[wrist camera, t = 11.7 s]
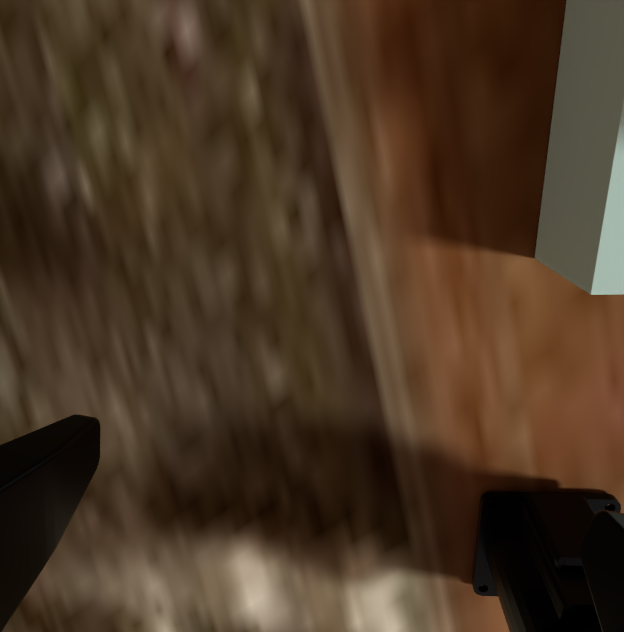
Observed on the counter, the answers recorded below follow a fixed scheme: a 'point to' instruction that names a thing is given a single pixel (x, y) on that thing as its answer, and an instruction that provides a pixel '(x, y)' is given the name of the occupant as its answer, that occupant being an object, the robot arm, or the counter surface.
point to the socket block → (587, 152)
